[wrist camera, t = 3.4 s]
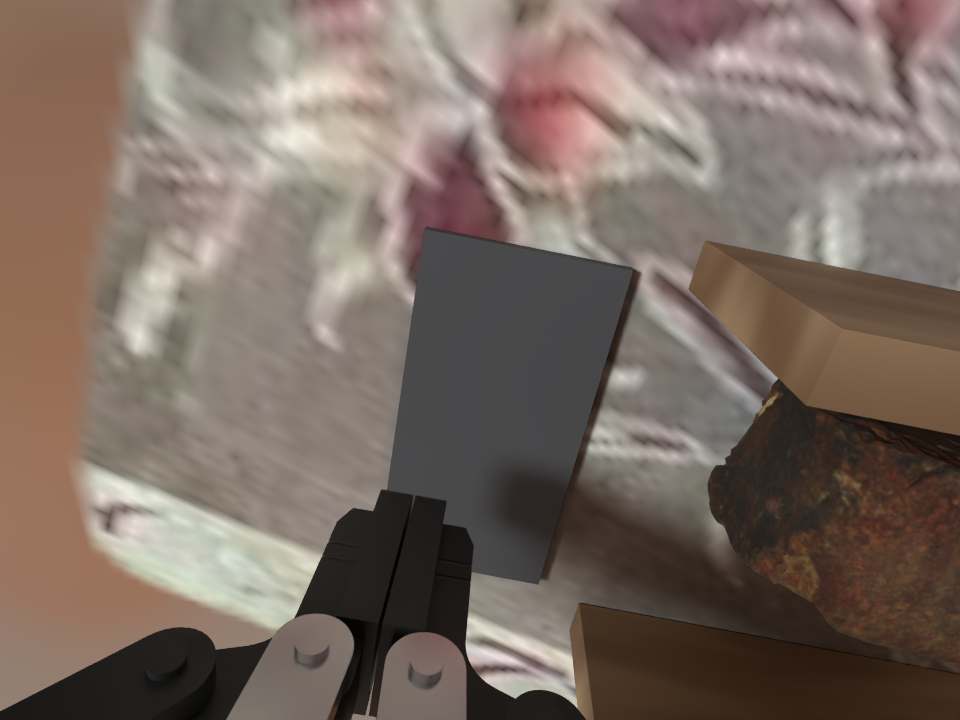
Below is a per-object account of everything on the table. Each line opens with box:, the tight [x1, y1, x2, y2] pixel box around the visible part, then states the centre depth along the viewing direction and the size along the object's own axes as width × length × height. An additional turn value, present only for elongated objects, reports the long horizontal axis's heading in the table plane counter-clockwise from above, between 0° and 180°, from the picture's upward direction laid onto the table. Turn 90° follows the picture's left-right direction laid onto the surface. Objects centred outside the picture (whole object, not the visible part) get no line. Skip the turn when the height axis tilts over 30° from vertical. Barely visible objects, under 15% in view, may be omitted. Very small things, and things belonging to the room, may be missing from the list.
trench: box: [570, 241, 960, 720], centre depth 13 cm, size 13×14×6 cm
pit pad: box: [387, 227, 633, 584], centre depth 15 cm, size 10×5×1 cm, turn 169°
